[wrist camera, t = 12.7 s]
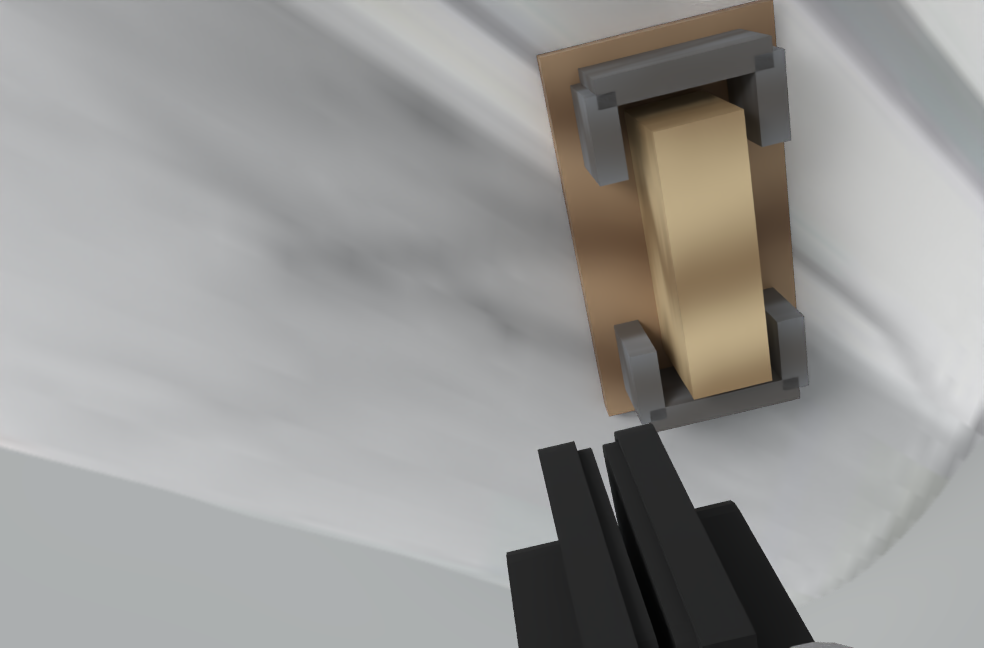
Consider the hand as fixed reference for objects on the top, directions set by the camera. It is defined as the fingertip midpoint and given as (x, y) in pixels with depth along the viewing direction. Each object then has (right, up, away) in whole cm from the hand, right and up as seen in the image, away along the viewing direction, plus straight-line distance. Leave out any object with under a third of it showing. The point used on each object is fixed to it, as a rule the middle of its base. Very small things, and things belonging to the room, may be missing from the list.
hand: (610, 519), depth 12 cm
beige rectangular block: (+7, +7, +26) cm, 28 cm away
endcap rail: (+7, +8, +27) cm, 29 cm away
